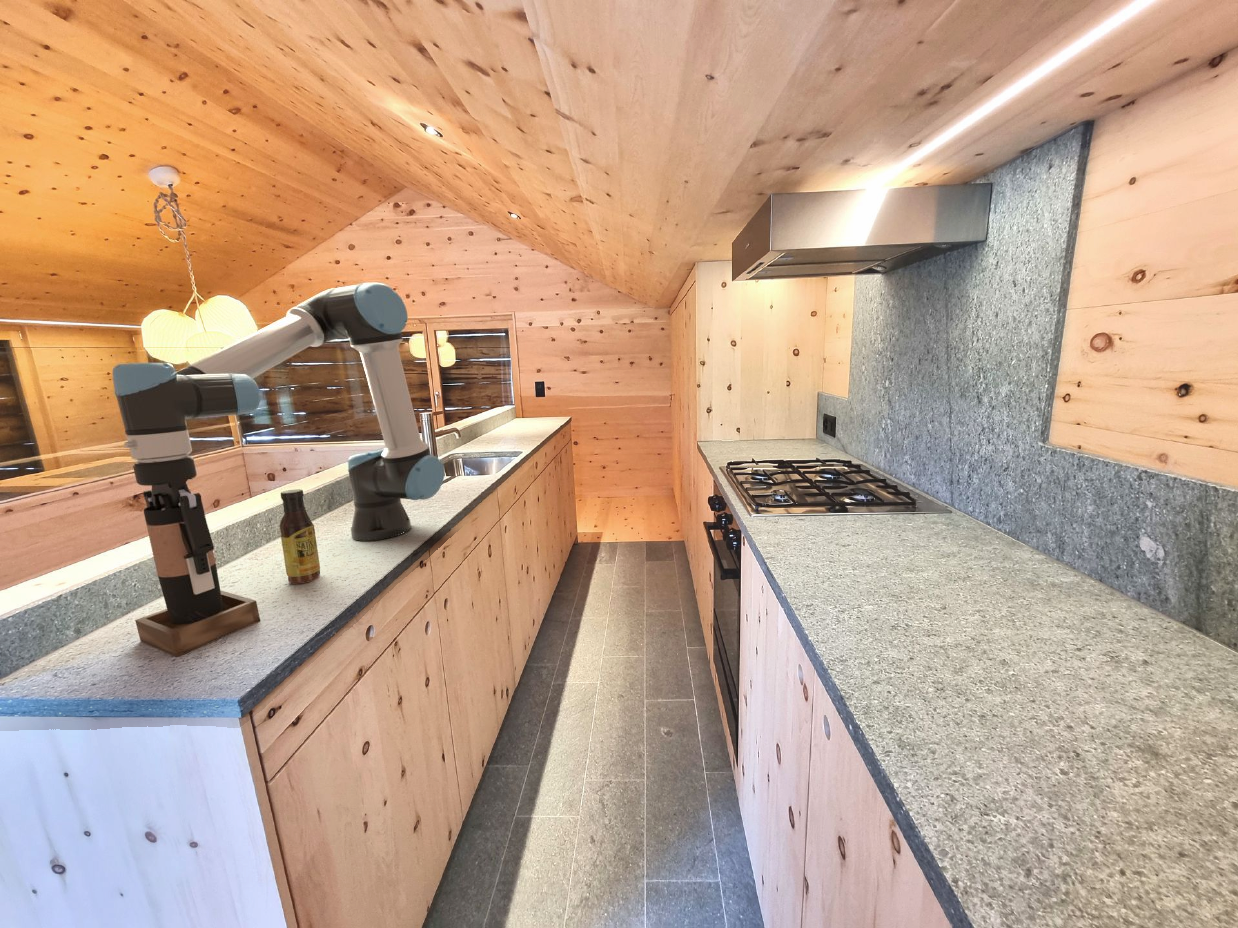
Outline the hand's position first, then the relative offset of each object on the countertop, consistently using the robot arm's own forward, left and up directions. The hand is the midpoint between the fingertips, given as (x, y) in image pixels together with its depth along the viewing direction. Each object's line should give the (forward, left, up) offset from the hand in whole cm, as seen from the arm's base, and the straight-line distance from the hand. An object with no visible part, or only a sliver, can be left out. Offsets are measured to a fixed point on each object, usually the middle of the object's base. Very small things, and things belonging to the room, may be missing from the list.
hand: (191, 586), depth 87 cm
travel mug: (0, 0, -5) cm, 5 cm away
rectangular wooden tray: (0, 0, -8) cm, 8 cm away
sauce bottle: (-22, -5, -9) cm, 24 cm away
